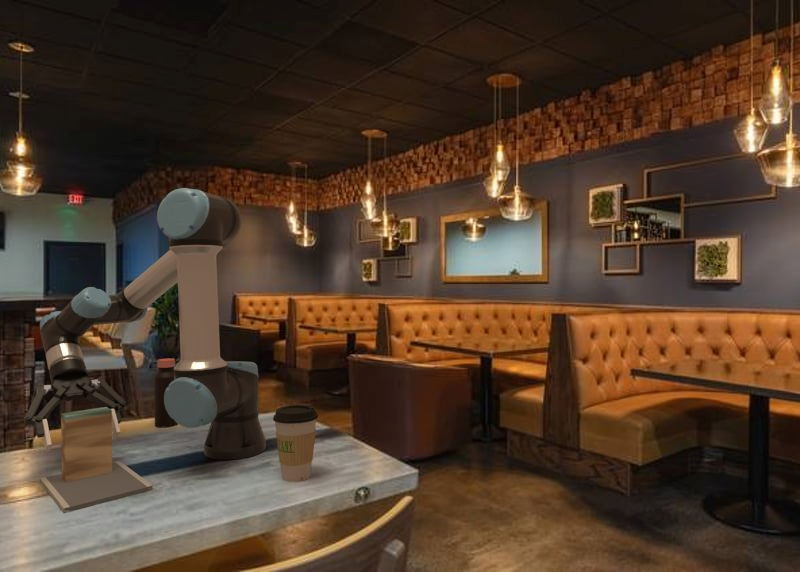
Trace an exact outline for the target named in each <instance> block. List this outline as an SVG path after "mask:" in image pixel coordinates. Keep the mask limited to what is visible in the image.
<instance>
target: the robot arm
mask: <svg viewBox="0 0 800 572" xmlns="http://www.w3.org/2000/svg"><path fill="white" fill-rule="evenodd" d="M156 213H157V214H156V220H157V225H158V228H159V230H161V232H162V234H164V235H165V236H166V237H168V245H169V247H168V248H169V250H168V251H167V252H166V253H164V254H163V255H162V256H161V257H160V258H159V259H157V260H156V261H155V262H154V263H153V264H152V265H150V266H149V267H148V268H147V269H146V270H145V271H143V272H142V273H141V274H140V275H139V276H137V278H135V279H134V280H133V281H131V283H129V284H128V285H127V286H126V287H124V288H123V289H122V290H121V291H119V292H118V293H116V294H111V295H110V294H107V292H106V291H104V290H103V289H100V288H96V287H94V286H89V287H86V288H83V289H82V290H81V291H80V292H79V293H78V294H76V295H75V296H74V297H72V300H70V302H69V303H68V304H67V305H66V306H64V308H63V309H62V310H59V311H58V310H57V311H52V312H50V313H49V314H46V315H44V316H43V317H42V318H41V320H40V322H39V329H40V337H41V340H42V341H41V342H42V346H43V349H44V354H45V358H46V364H47V369H48V374H49V378H50V383H51V384H44V383H43V382H39V383H37V387H36V391H35V393H36V394H35V396H34V398H33V401H32V402H31V404H30V406H29V408H28V410H27V412H26V415H25V417H24V421H23V425H25V426H29V425H33V428H35V433H36V437H37V438H38V439H40V438H42V441H43V447H44V451H45V452H46V453H47V452H50V451H51V448H52V445H53V444H52V439H51V435H50V430H49V424H48V420H47V419H48V418H47V417H49V415H50V414H51V413H52V412H53V411H54V409H55V408H56V407H57V406H59V404H60V403H61V402H62V401H65V402H70V401H73V400H75V401H79V400H82V399H84V400H85V401H88V402H89V401H90V402H92V403H93V404H95V405H97V406H99V408H103V407H107V408H109V409H111V410H112V436H113V438H114V440H115V439H119V436H120V434H121V428H120V424H121V421H122V416H121V412H120V411H124V409H125V406H126V404H127V402H126V400H125V399H124V398H122V397H121V396H120V395H119V394H118V393H117V392H116V390H114V389H113V388H112V387H111V386H110V385H109V384H108V383H107V381H106V380H105V377H104V376H102V375H100V376H98V378H96V379H90V378H89V376H88V371H87V367H86V364H85V359H84V355H83V352H82V347H81V344H80V339H81V338H82V337H83V336H85V334H86V333H87V332H88V331H89V330H90V329H91V328H92V327H94V326H101V325H110V324H121V323H122V324H123V323H129V324H130V323H133V322H137V321H141V320H142V319H143V318H144V317H146V315H147V312H148V309H149V308H148V307H150V305H151V304H153V303H154V302H155V301H156V300H158V299H159V298H160V297H161V296H162V295H164V294H165V293H167V292H168V291H169V289H171V288H172V287H174V285H176V284H177V291H178V293H177V295H178V297H177V298H178V319H179V321H178V323H179V348H180V360H179V362H177V363H176V364H175V366H174V381H172V382H171V383H170V384H169V387H167V388H166V390H165V394H164V404H165V408H166V410H167V413H168V414H169V416H170V417H171V418H172V419H174V420H175V422H176V423H177V425H179V426H182V427H185V428H190V429H191V428H192V429H195V428H199V427H201V426H202V427H203V426H206V425H209V429H208V432H207V434H206V437H205V442H204V445H203V454H204V457H206V458H208V459H209V458H210V459H214V460H219V461H220V460H223V461H227V460H230V461H231V460H238V459H240V460H241V459H246V458H250V457H254V456H257V455H258V454H262V453H263V452H264V451H265V450H266V446H267V444H266V443H267V442H266V437H265V433H264V432H263V431H264V430H263V427H262V425H261V422H260V420H259V418H260V417H259V378H260V376H259V368H258V365H257V363H255V362H253V361H235V360H233V361H230V360H228V361H227V360H224V359H223V358H222V357H221V347H220V346H221V345H220V323H219V322H220V319H219V295H218V293H219V292H218V269H217V255H219V254H221V252H222V251H224V250H225V249H226V248H228V246H229V245H231V244H232V242H234V241H235V239H236V238H237V237H238V235H239V233H240V231H241V228H242V224H243V223H242V214H241V212H240V210H239V208H238V206H237V205H236V204H235V203H234V202H233V201H232V200H230V199H229V198H227V197H224V196H222V195H221V196H220V195H216V194H213V193H209V192H206V191H202V190H200V189H197V188H195V189H194V188H189V187H188V188H187V187H181V188H177V189H174V190H172V191H170V192H169V193H168V194H166V196H165V197H164V198H163V199H162V201H161V202H160V204H159V205H158V209H157V212H156ZM93 387H94V388H95V389H96V390H98V391H99V392H100V393H99V392H98V391H96V390H95V389H94V388H93ZM48 392H50V393H52V394H53V397H52V398H51V399H50V400H49V401H48V402H47V404H46V405H45V406H44V407H43V408H42V409H41V410H40V412H39V413H38V414H37V415H36V413H37V410H38V409H39V407H40V404H41V402H42V400H43V397H44V396H45V395H47V394H48Z"/></svg>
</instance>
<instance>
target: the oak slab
mask: <svg viewBox="0 0 800 572" xmlns="http://www.w3.org/2000/svg"><path fill="white" fill-rule="evenodd" d="M60 430H61V431H60V432H61V434H60V435H61V439H60V440H61V442H60V443H61V445H60V447H61V448H60V449H61V474H62V478H63V479H64V480H65V482H70V481H75V480H79V479H83V478H88V477H92V476H96V475H101V474H105V473H109V472H112V463H113V432H112V410H111V409H109V408H107V407H103V408H102V407H97V408H91V409H84V410H77V411H70V412H64V413H61V414H60Z"/></svg>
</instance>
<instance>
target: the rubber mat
mask: <svg viewBox="0 0 800 572" xmlns="http://www.w3.org/2000/svg"><path fill="white" fill-rule="evenodd" d="M39 483H40V484H41V486H42V487H43V488H44V489H45V491H46V492H47V493H48V494H49V496H50V497H51V498H52V499H53V501H54V502H55V503H56V505H57V506H58V507H59V509H60V510H61V511H62V512H63V514H64V513H69V512H72V511H76V510H79V509H83V508H84V509H85V508H88V507H91V506H95V505H99V504H102V503H107V502H111V501H114V500H118V499H122V498H125V497H129V496H133V495H137V494H141V493H144V492H149V491H152V490H153V484H151V483H150V482H148V481H147V480H146V479H144V478H143V477H142V476H140V475H139V474H138V473H136V472H135V471H134V470H133V469H131V468H129V467H128V466H127V465H125V464H124V462H122V461H120V460H117V461H114V462H113V461H112V472H109V473H105V474H101V475H96V476H92V477H88V478H83V479H79V480H75V481H70V482H65V480H64V479H63V478H62V473H59V474H53V475H50V476H49V475H48V476H44V477H39Z"/></svg>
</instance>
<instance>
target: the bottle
mask: <svg viewBox="0 0 800 572" xmlns="http://www.w3.org/2000/svg"><path fill="white" fill-rule="evenodd" d="M175 366H176V359H175V358H173V357H172V358H168V357H167V358H159V359H157V369H158V372H157V373H156V374H155V375H154V381H153V383H154V385H153V386H154V389H153V390H154V394H153V395H154V426H155V427H156V428H171V427H174V426H177V425H178V424H177V423H176V422H175V420H174V419H172V418H171V417H170V416H169V414H168V413H167V410H166V408H165V404H164V394H165V390H166V388H167V387H169V384H170V383H171V382H172V381H174V367H175Z"/></svg>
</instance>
